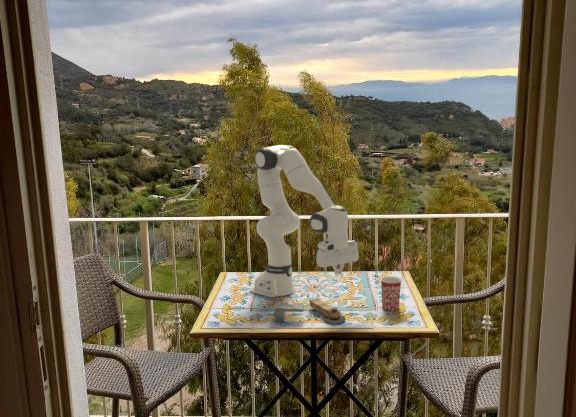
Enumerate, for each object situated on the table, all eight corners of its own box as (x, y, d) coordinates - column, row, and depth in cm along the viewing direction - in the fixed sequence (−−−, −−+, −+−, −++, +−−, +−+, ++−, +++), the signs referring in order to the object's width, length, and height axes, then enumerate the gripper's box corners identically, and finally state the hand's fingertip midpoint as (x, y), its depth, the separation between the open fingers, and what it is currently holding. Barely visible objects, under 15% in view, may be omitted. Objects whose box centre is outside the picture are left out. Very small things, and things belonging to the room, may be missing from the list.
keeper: (304, 316, 229) (304, 302, 228) (303, 322, 222) (302, 308, 221) (276, 315, 230) (276, 301, 229) (274, 322, 223) (274, 307, 222)
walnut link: (342, 318, 223) (342, 309, 222) (332, 320, 220) (332, 312, 220) (318, 304, 239) (318, 296, 239) (308, 306, 237) (308, 298, 236)
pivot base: (320, 322, 222) (320, 320, 222) (328, 315, 230) (328, 312, 230) (340, 325, 218) (340, 323, 218) (348, 318, 226) (348, 315, 226)
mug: (403, 311, 231) (404, 282, 229) (383, 312, 231) (383, 283, 228) (395, 301, 244) (396, 273, 242) (376, 302, 243) (376, 274, 241)
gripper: (353, 238, 238) (353, 268, 240) (314, 244, 228) (314, 275, 230) (361, 241, 232) (361, 271, 234) (322, 247, 222) (322, 279, 225)
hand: (338, 273), depth 232 cm, fingers closed
